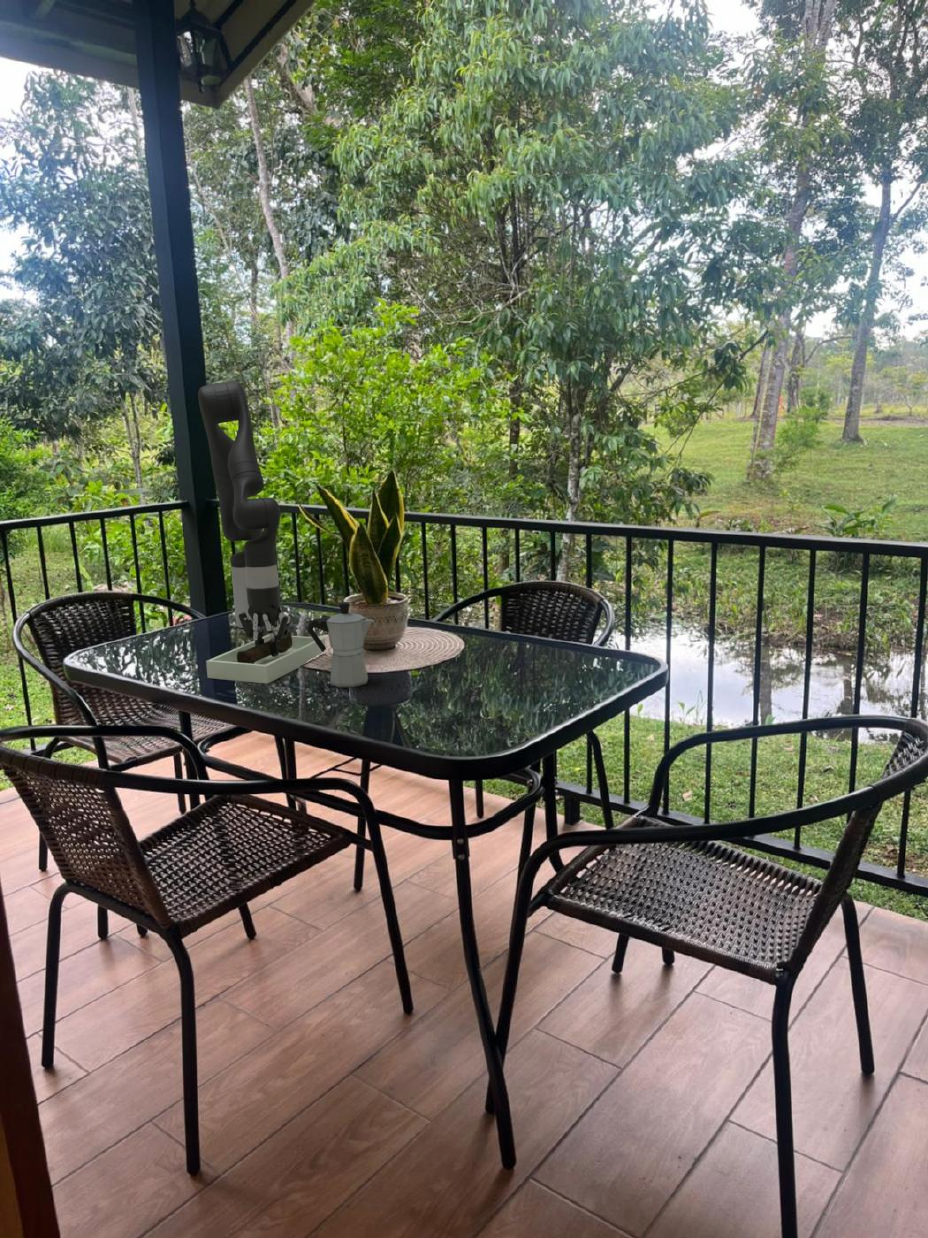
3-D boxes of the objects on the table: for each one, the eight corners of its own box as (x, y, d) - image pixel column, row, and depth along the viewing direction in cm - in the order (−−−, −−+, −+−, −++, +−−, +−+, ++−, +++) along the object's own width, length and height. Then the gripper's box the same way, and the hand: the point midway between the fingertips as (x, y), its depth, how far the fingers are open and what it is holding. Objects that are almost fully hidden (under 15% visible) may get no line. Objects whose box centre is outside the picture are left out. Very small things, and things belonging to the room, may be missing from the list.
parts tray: (270, 649, 236) (269, 634, 235) (325, 653, 230) (324, 638, 229) (207, 678, 212) (206, 661, 211) (267, 683, 206) (266, 666, 206)
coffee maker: (379, 675, 210) (375, 597, 206) (375, 687, 202) (371, 606, 198) (314, 676, 211) (308, 599, 207) (307, 688, 202) (301, 607, 198)
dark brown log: (250, 668, 212) (248, 649, 210) (236, 666, 213) (234, 647, 212) (301, 648, 228) (300, 630, 227) (288, 647, 230) (287, 628, 229)
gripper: (297, 582, 218) (302, 653, 222) (246, 579, 223) (252, 649, 227) (279, 588, 211) (285, 661, 215) (227, 585, 216) (233, 657, 220)
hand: (268, 655), depth 221 cm, fingers closed on dark brown log, 3 cm apart
